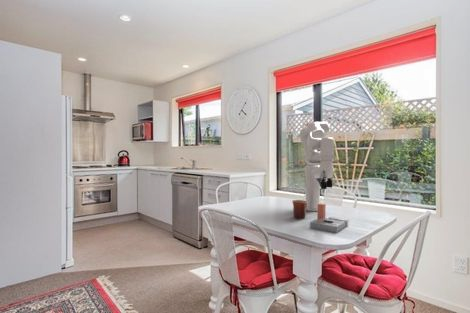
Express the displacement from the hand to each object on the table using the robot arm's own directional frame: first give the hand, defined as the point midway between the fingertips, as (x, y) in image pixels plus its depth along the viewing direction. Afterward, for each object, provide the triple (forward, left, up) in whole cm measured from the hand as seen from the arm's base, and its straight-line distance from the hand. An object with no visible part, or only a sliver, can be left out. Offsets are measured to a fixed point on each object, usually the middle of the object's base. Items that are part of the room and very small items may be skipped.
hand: (326, 188), depth 160 cm
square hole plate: (+6, -13, -19) cm, 24 cm away
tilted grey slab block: (+8, -3, -20) cm, 21 cm away
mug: (-15, -2, -20) cm, 25 cm away
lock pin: (-2, -2, -19) cm, 20 cm away
